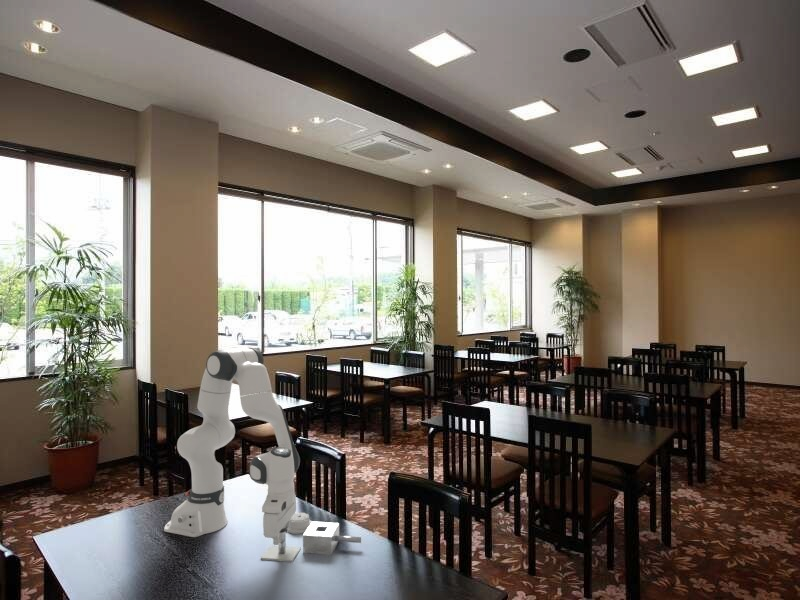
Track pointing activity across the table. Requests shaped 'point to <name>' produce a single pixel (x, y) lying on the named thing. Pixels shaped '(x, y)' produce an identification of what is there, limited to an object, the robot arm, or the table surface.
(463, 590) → the table surface
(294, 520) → the mechanical component
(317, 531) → the block
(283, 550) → the grey capped cylinder
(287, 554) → the mat
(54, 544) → the table surface
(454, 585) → the table surface
